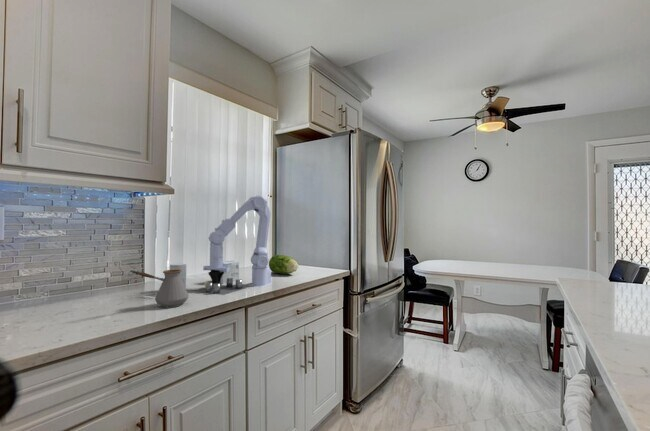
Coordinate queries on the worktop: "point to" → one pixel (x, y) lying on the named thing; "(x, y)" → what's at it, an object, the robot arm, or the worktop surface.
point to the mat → (222, 290)
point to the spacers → (216, 287)
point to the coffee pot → (169, 288)
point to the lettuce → (282, 264)
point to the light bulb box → (231, 271)
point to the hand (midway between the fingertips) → (216, 286)
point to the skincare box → (182, 273)
